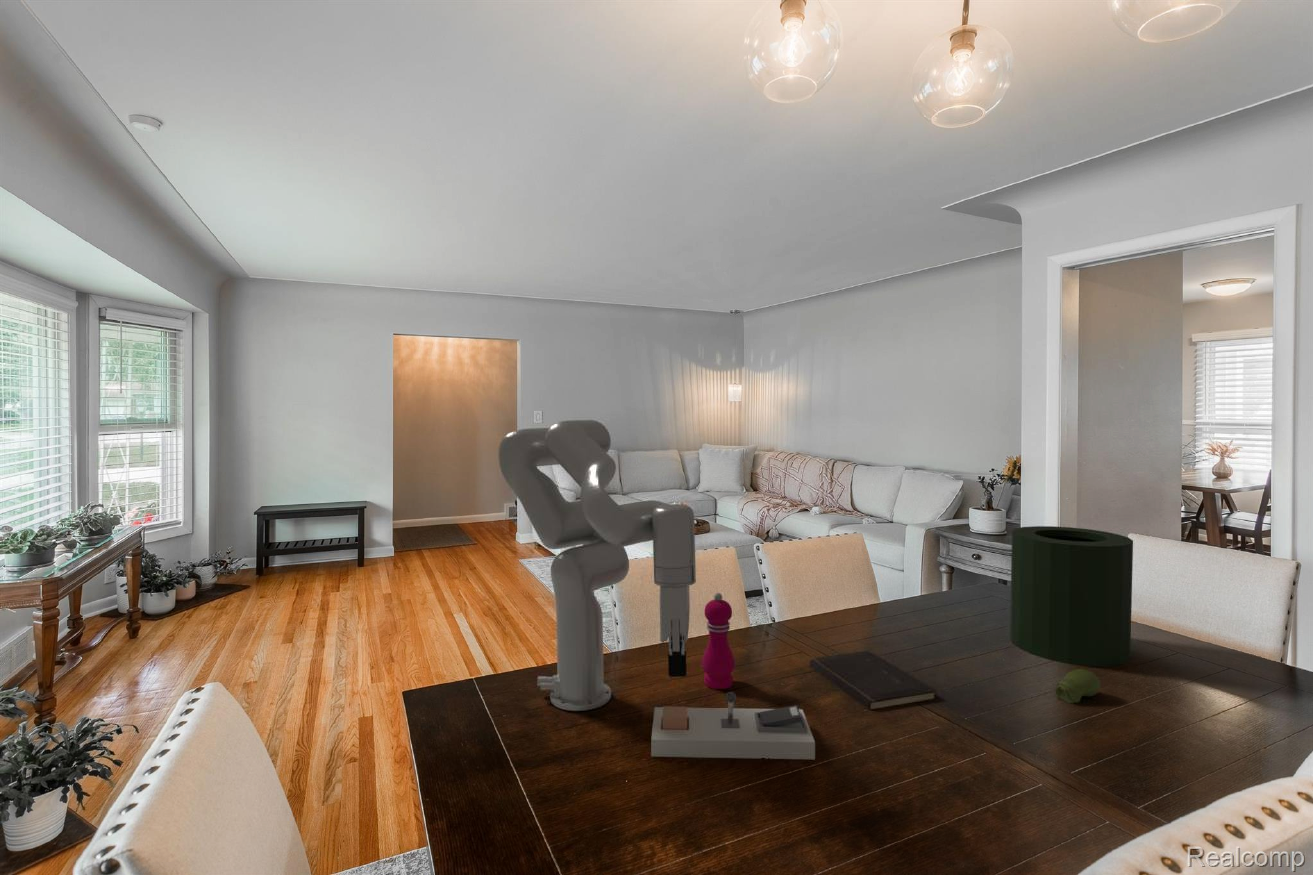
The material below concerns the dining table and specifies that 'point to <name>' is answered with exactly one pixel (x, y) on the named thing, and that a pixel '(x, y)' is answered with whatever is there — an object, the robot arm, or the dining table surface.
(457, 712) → the dining table surface
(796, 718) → the panel
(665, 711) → the push button
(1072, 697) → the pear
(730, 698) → the toggle lever
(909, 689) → the hardcover book
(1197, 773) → the dining table surface
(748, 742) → the control panel
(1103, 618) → the flower pot
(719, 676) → the pepper mill
